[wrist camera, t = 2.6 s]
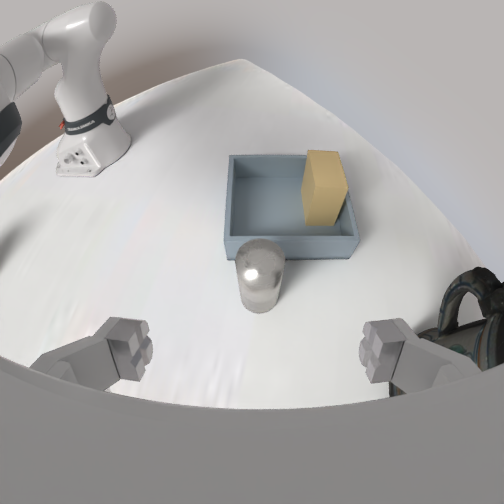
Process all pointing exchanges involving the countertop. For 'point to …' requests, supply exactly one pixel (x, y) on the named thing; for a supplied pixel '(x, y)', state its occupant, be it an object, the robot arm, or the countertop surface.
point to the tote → (281, 210)
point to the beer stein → (472, 334)
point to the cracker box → (323, 188)
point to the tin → (259, 274)
